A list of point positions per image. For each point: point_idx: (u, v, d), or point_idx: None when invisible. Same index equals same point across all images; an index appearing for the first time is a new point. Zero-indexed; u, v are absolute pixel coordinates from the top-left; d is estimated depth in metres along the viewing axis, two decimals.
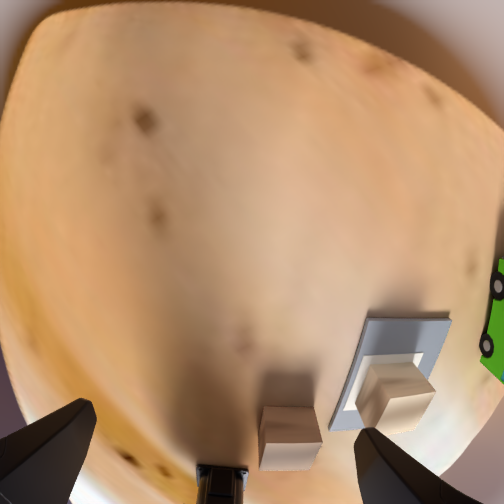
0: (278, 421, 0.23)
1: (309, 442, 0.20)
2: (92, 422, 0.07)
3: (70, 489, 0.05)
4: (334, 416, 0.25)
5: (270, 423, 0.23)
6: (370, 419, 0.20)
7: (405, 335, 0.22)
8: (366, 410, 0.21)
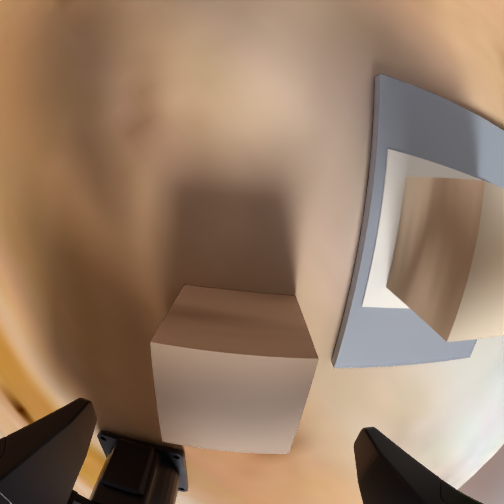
0: (205, 307, 0.11)
1: (279, 355, 0.08)
2: (92, 422, 0.07)
3: (70, 489, 0.05)
4: (344, 326, 0.13)
5: (183, 308, 0.10)
6: (439, 289, 0.08)
7: (454, 130, 0.10)
8: (421, 276, 0.09)
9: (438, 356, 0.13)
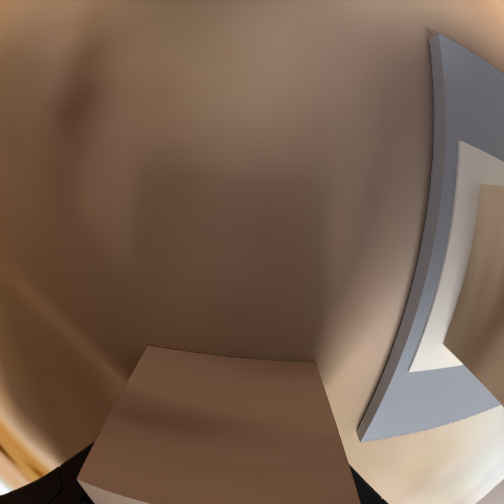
0: (173, 400, 0.06)
1: None
2: None
3: None
4: (379, 395, 0.08)
5: (136, 403, 0.05)
6: None
7: None
8: None
9: (480, 408, 0.08)
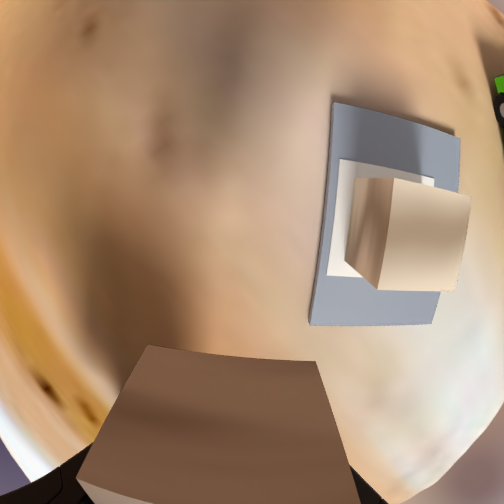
0: (173, 399, 0.06)
1: None
2: None
3: None
4: (314, 291, 0.18)
5: (136, 402, 0.05)
6: (372, 254, 0.13)
7: (397, 138, 0.15)
8: (362, 248, 0.14)
9: (399, 320, 0.18)
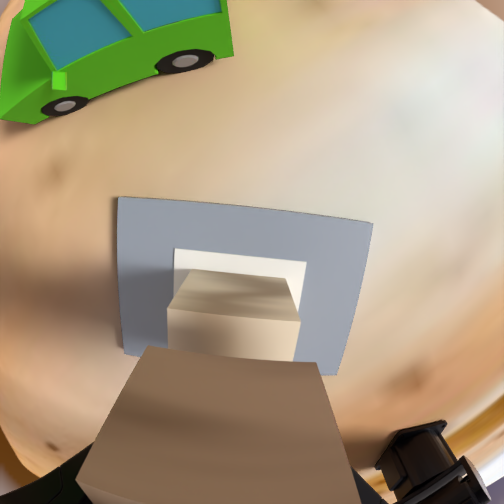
0: (172, 400, 0.06)
1: None
2: None
3: None
4: None
5: (136, 403, 0.05)
6: None
7: (141, 297, 0.16)
8: None
9: (356, 279, 0.15)
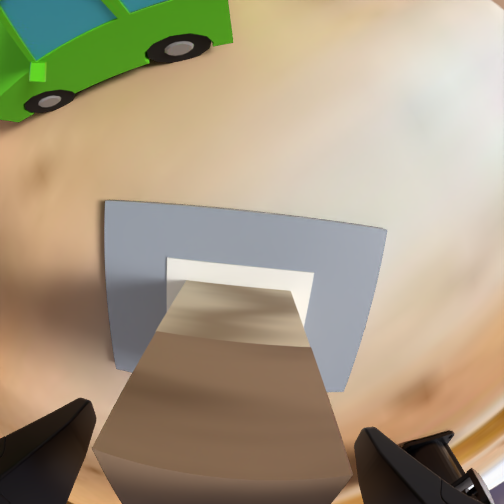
0: (180, 378, 0.07)
1: (294, 477, 0.04)
2: (91, 422, 0.07)
3: (69, 489, 0.05)
4: None
5: (147, 381, 0.06)
6: None
7: (131, 310, 0.14)
8: None
9: (368, 290, 0.14)
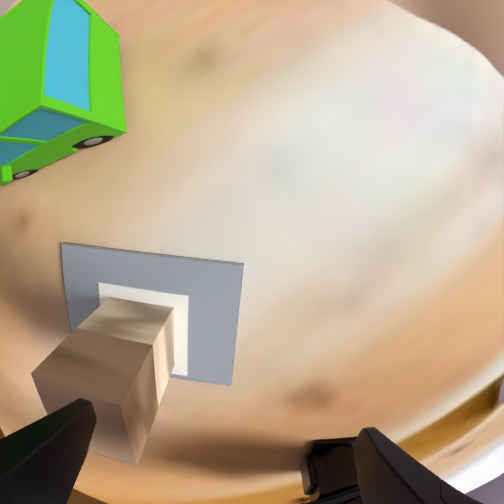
0: (77, 350, 0.12)
1: (96, 397, 0.09)
2: (92, 422, 0.07)
3: (70, 489, 0.05)
4: None
5: (62, 350, 0.12)
6: None
7: (81, 314, 0.19)
8: None
9: (233, 310, 0.19)
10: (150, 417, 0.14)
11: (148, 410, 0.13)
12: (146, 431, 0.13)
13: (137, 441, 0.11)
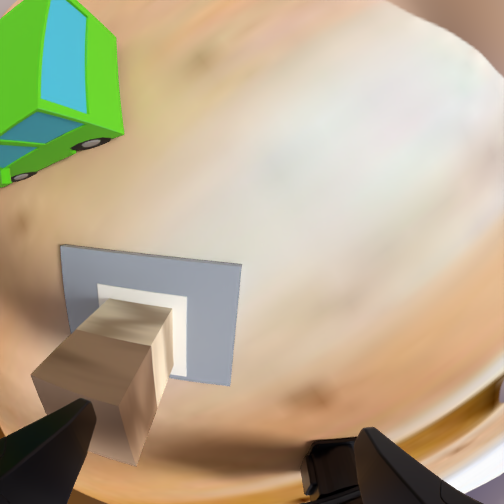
0: (76, 352, 0.12)
1: (94, 398, 0.09)
2: (92, 422, 0.07)
3: (70, 489, 0.05)
4: None
5: (61, 351, 0.12)
6: None
7: (81, 315, 0.19)
8: None
9: (231, 311, 0.19)
10: (149, 418, 0.14)
11: (147, 411, 0.13)
12: (145, 432, 0.13)
13: (136, 442, 0.11)
